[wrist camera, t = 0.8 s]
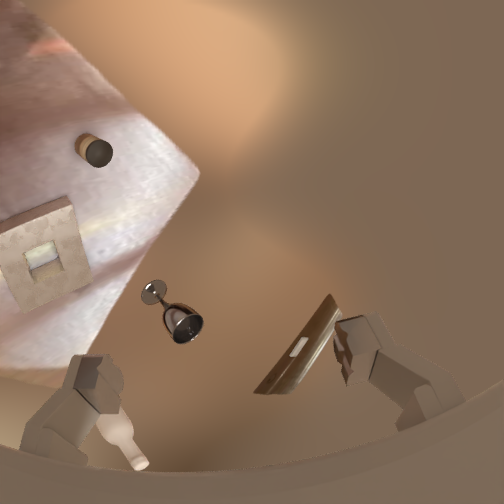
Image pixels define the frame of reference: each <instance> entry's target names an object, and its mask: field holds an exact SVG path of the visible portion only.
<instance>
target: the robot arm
mask: <svg viewBox="0 0 504 504" xmlns="http://www.w3.org/2000/svg"><path fill="white" fill-rule="evenodd" d="M334 329H335V331H336V335H335V336H334V338H333V339H334V340H333V346H334V352H335V356H336V359H337V361H338V362H339V363H340V364H342V369H341V372H342V375H343V378H344V380H345V383H346V386H349V385H354V384H358V383H361V382H365V381H369V382H370V383H371V384H373V385H374V386H375V387H376V388H378V389H379V390H380V391H381V392H383V393H384V394H385V395H386V396H387V397H389V398H390V399H391V400H392V401H394V402H395V403H396V404H397V405H399V406H400V407H401V408H402V409H403V411H402V412H401V414H400V416H399V417H398V419H397V420H396V422H395V425H396V428H397V430H398V432H397V433H394V434H391V435H389V436H386V437H383V438H380V439H377V440H374V441H371V442H368V443H365V444H362V445H359V446H355V447H352V448H348V449H344V450H341V451H338V452H334V453H330V454H325V455H322V456H317V457H312V458H308V459H303V460H299V461H293V462H287V463H282V464H276V465H269V466H262V467H255V468H246V469H238V470H225V471H210V472H144V471H129V470H118V469H108V468H101V467H93V466H87V462H88V457H87V455H86V454H84V453H83V452H81V451H80V450H79V449H78V448H79V446H80V445H81V443H82V442H83V440H84V439H85V437H86V436H87V435H88V433H89V431H90V430H91V429H92V427H93V426H94V424H95V423H96V421H97V420H98V419H99V417H100V416H101V415H100V414H119V410H120V404H121V399H120V397H119V394H120V393H121V391H122V390H123V385H124V382H123V375H122V372H121V370H120V369H119V367H117V366H116V365H114V364H112V362H113V359H112V358H111V356H110V355H109V354H85V355H74V356H73V357H72V358H71V361H70V364H69V367H68V370H67V374H66V377H65V380H64V383H63V386H62V389H58V390H57V391H56V392H55V393H54V394H53V395H52V396H51V398H49V400H48V401H47V402H46V403H45V404H44V405H43V406H42V407H41V408H40V409H39V410H38V411H37V412H36V413H35V414H34V415H33V417H32V418H31V419H30V420H29V421H28V422H27V423H26V426H25V429H24V433H23V436H22V440H21V444H20V449H19V450H17V449H14V448H10V447H7V446H4V445H1V444H0V504H504V379H503V380H502V381H500V382H499V383H497V384H495V385H494V386H492V387H490V388H489V389H487V390H485V391H484V392H482V393H480V394H479V395H477V396H475V397H473V398H471V399H469V400H467V401H466V400H465V398H464V396H463V394H462V392H461V391H460V389H459V387H458V385H457V383H456V381H455V380H454V378H453V376H452V374H451V373H450V372H448V371H447V370H445V369H443V368H441V367H439V366H438V365H436V364H434V363H433V362H431V361H429V360H427V359H425V358H424V357H422V356H420V355H419V354H417V353H415V352H413V351H412V350H410V349H408V348H406V347H405V346H403V345H401V344H397V345H396V343H395V342H394V340H393V338H392V336H391V335H390V333H389V331H388V329H387V327H386V325H385V324H384V322H383V320H382V318H381V317H380V315H379V313H378V312H372V313H368V314H364V315H359V316H355V317H351V318H347V319H343V320H339V321H336V322H335V327H334Z"/></svg>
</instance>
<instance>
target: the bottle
mask: <svg viewBox="0 0 504 504" xmlns="http://www.w3.org/2000/svg"><path fill="white" fill-rule="evenodd" d="M100 415H101V416H100V417H99V419H98V420H97V421H96V423H95V424H96V426H97V428H98V430H99V431H100V433H101V435H102V436H103V437H104V438H105V439H106V440H107V441H108V442H110V443H111V444H113V445H118V446H119V447H120V449H121V450H122V452H123V453H124V455H125V456H126V458H127V459H128V461H129V462H130V465H131V466H132V467H133V468H134V469H135V470H142V469H144V468H146V467H147V466H148V464H149V462H148V461H147V458H146V457H145V456H144V455H143V454H142V452H141V451H140V449H139V448H138V447H137V445H136V444H135V442H134V441H133V439H132V437H133V434H134V430H133V426H132V423H131V421H130V420H129V418H128V416H127V415H126V414H125V412H124V410H123V409H122V407H121V406H120V410H119V414H100Z"/></svg>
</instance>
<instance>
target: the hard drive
mask: <svg viewBox="0 0 504 504" xmlns="http://www.w3.org/2000/svg"><path fill="white" fill-rule="evenodd" d="M307 340H308V338H307V337H302V338H301V339H300V341H299V342H298V344H297V345H296V347H295V348H294V350H293V351H292V352H291V354H290V355H289V356H291V357H293V356H297V355H298V353H299V352H300V350H301V349H302V347H303V346H304V344H305V343H306V341H307Z"/></svg>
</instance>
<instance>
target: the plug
mask: <svg viewBox="0 0 504 504" xmlns="http://www.w3.org/2000/svg"><path fill="white" fill-rule="evenodd" d="M75 151H76V152H77V154H79V155H80V156H81V157H82V158H83V159H85V160H86V161H87V162H88V163H89V164H91V165H92V166H94V167H96V168H101V167H104V166H106V165H107V164H108V163H109V162H110V161H111V159H112V156H113V149H112V147H111V145H110V144H109V143H108V142H106V141H104V140H102V139H99V138H97V137H95V136H93V135H91V134H82V135H80V136H79V137H78V138H77V140H76V142H75Z"/></svg>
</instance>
